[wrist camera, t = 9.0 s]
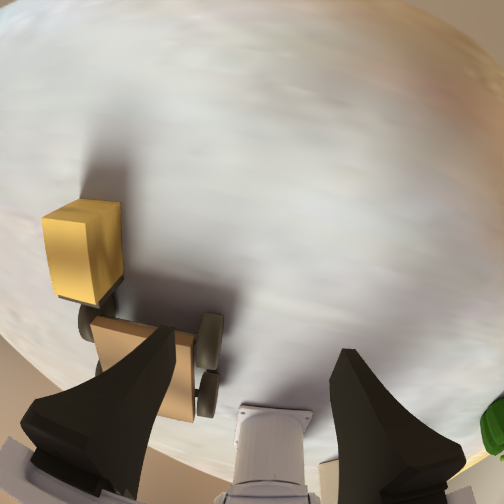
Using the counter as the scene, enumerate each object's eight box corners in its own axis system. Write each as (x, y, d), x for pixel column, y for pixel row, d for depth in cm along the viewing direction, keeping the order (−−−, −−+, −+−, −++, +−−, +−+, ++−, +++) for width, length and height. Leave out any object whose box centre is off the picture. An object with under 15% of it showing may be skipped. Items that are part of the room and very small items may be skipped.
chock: (124, 278, 23) (97, 311, 19) (86, 271, 23) (56, 300, 19) (120, 202, 21) (85, 223, 16) (79, 198, 21) (41, 217, 16)
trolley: (218, 393, 28) (211, 430, 24) (117, 370, 28) (100, 402, 24) (225, 304, 23) (215, 343, 19) (98, 282, 24) (71, 312, 19)
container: (329, 478, 37) (334, 542, 25) (317, 463, 34) (320, 538, 22) (374, 465, 35) (385, 531, 23) (368, 450, 33) (380, 525, 21)
